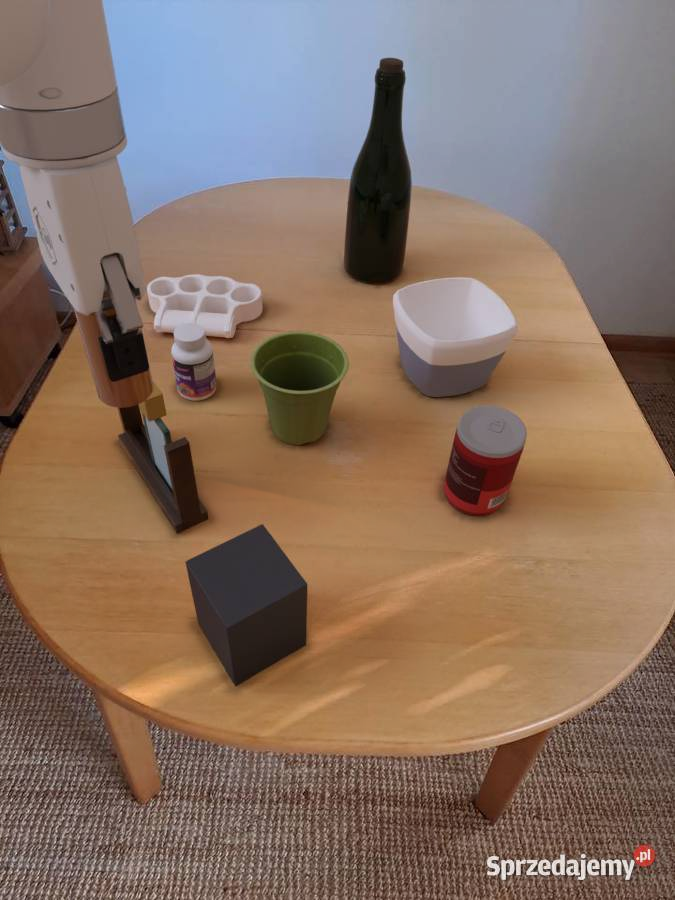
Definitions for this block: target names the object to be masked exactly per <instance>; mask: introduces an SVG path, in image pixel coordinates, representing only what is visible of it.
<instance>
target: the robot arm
mask: <svg viewBox="0 0 675 900" xmlns="http://www.w3.org/2000/svg"><path fill="white" fill-rule="evenodd" d="M121 103H122V102H121V99H120V93H119V87H118V82H117V77H116V71H115V65H114V59H113V54H112V48H111V42H110V37H109V30H108V25H107V19H106V13H105V8H104V3H103V0H0V147H1V150H2V153H3V155H4V156H5V158H7V160H8V161H10V162H12V163H15V164H17V165H18V167H19V171H20V175H21V180H22V184H23V188H24V192H25V196H26V200H27V204H28V208H29V211H30V215H31V219H32V223H33V227H34V231H35V235H36V240H37V243H38V247H39V251H40V254H41V256H42V259H43V262H44V264H45V265H46V268H47V269H48V271H49V272H50V274H51V276H52V277H53V279H54V280H55V282H56V283H57V285H58V287H59V288H60V289H61V291H62V293H63V294H64V296H65V297H66V299H68V301H69V304H71V306H72V308H73V307H74V308H73V310H74V309H75V310H76V311H78V312H79V313H81V314H83V315H86V316H87V315H90V313H93V312H95V315H96V318H97V322H98V325H99V328H100V331H101V334H102V337H99V338H98V340H99V344H100V348H101V352H102V356H103V360H104V363H105V367H106V371H107V375H108V377H109V379H110V380H111V381H112V382H116V381H119V380H122V379H125V378H128V377H131V376H134V375H137V374H140V373H143V372H146V371H147V370H148V369H149V366H150V361H149V356H148V351H147V347H145V346H146V342H144V341H145V337H144V338H143V336H144V332H143V333H142V331H143V328H144V323H143V319H142V317H141V314H140V311H139V308H138V309H137V306H138V305H137V306H136V303H135V301H134V298H133V296H134V297H135V298H136V301H142V299H143V298H144V297H145V294H146V281H145V273H144V266H143V263H142V257H141V252H140V246H139V243H138V237H137V233H136V229H135V225H134V220H133V216H132V211H131V207H130V203H129V199H128V195H127V188H126V186H125V182H124V179H123V175H122V171H121V168H120V164H119V161H118V155H120V154H121V153H122V152H123V151H124V150H125V149H126V147H127V145H128V138H127V134H126V133H127V132H126V127H125V126H126V125H125V121H124V116H123V109H122V104H121ZM106 291H108V292H109V296H106V297H103V293H104V292H106ZM112 308H115V311H116V314H117V317H116V318H115V319H111V321H110V323H108V319H107V316H106V313H105V310H108V309H112ZM146 351H147V352H146ZM147 356H148V357H147ZM148 361H149V362H148Z"/></svg>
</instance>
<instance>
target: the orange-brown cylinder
mask: <svg viewBox="0 0 675 900" xmlns="http://www.w3.org/2000/svg"><path fill="white" fill-rule="evenodd" d="M106 296H109V292H108V291H106V292H104V293H103V297H106ZM133 298H134V301H135V303H136V306H137V309H138V310H139V306H138V302H137V301H138V300H137V299H136V298H135V297H134V296H133ZM72 308H73V311H74V315H75V318H76V321H77V325H78V330H79V333H80V337H81V339H82V343H83V347H84V350H85V354H86V359H87V361H88V365H89V369H90V372H91V375H92V379H93V382H94V383H93V384H94V386H95V390H96V393H97V397H98V399H99V400H100V401H101V402H102V403H103V404H104V405H106V406H109V407H112V408H117V409H118V408H125V407H131V406H135V405H138V404H140V403H142V402H144V401H145V400H146V399H148V398H149V397H150V395H151V394H152V392H153V382H154V381H153V376H152V372H151V367H150V365H149V369H148V370H147V371H146V372H143V373H140V374H137V375H134V376H131V377H128V378H125V379H122V380H119V381H116V382H112V381H111V380H110V379H109V377H108V375H107V371H106V367H105V363H104V360H103V356H102V352H101V348H100V344H99V340H98V338H99V337H102V334H101V331H100V328H99V325H98V322H97V318H96V315H95V312H93V313H90V315H87V316H86V315H83V314H81V313H79V312H78V311H76V310H75V309H74V307H73V306H72ZM105 313H106V316H107V319H108V323H110V321H111V319H115V318H116V317H117V314H116V311H115V308H112V309H108V310H105ZM142 333H143V334H144V331H143V330H142ZM143 338H144V339H145V336H144V335H143ZM144 342H145V340H144ZM145 343H146V342H145ZM145 347H146V345H145ZM146 348H147V347H146ZM146 352H147V353H148V350H146ZM147 357H148V358H149V356H148V355H147ZM148 362H149V363H150V361H149V360H148Z"/></svg>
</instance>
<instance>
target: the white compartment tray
mask: <svg viewBox="0 0 675 900" xmlns="http://www.w3.org/2000/svg"><path fill="white" fill-rule="evenodd" d="M146 292H147V293H146V294H147V297H148V303H149V307H150V309H151V311H152V312H153V313H155V316H154V320H153V330H154V332H156V333H171V334H174V330H175V329H176V328H177V327H178V326H180V325H182V324H185V323H196V324H199V325H201V326H202V327H203V328H204V330H205V335H206V337H219V338H226V339H231V338H234V336H235V333H236V329H237V325H239V324H241V323H246V322H251V321H254V320H256V319H258V318H259V317H260V316H261V315H262V313H263V311H264V310H263V309H264V307H263V292H262V289H261V288H260V287H259V285H257V284H255V283H252V282H251V283H247V282H246V283H245V282H239V281H237V280H234V279H233V278H231V277H228V276H223V275H217V276H216V275H215V276H211V275H203V274H201V273H194V274H187V275H183V276H179V277H170V276H164V275H163V276H159V277H157V278H154V279H153V280H151V281H150V282H149V283H148V284H147V286H146Z"/></svg>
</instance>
